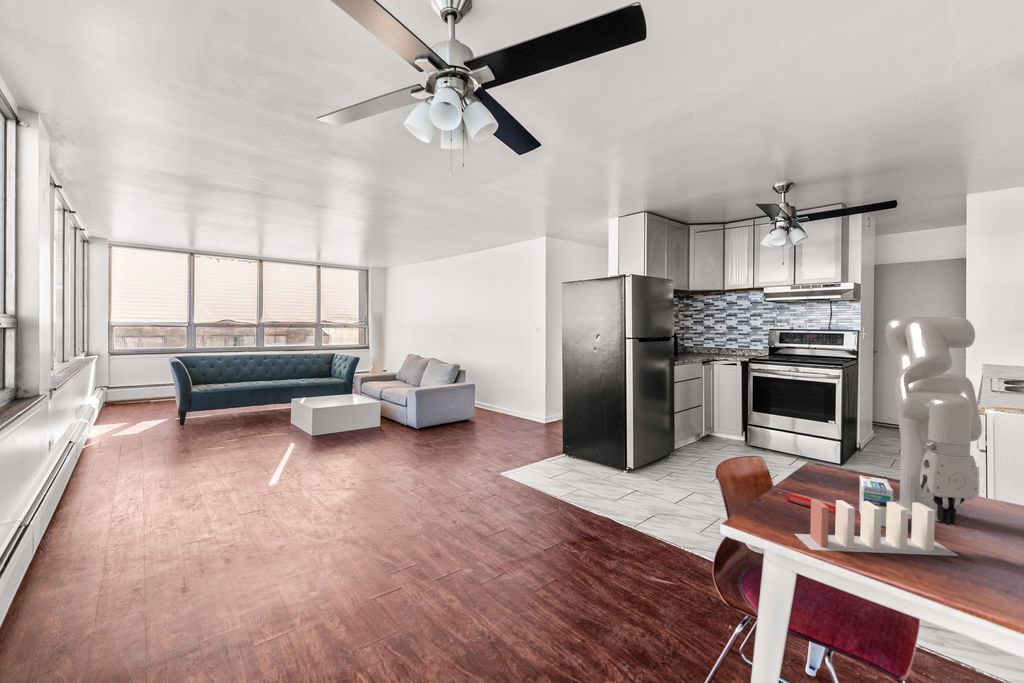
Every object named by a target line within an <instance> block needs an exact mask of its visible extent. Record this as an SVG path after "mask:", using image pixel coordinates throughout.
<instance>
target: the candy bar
mask: <svg viewBox="0 0 1024 683" xmlns="http://www.w3.org/2000/svg"><path fill="white" fill-rule="evenodd" d="M784 498H786V499H787V500H788V501H790V502H793V503H795V504H798V505H802V506H805V507H808V508H811V499H813V500H819V501H820V502H822V503H823V504H825V505H826V506H827V507H829V514H833V515H836V504H834V503H830V502H827V501H823V500H820V499H816V498H813V497H808V496H805V495H802V494H797V493H788V494H787V495H785V496H784Z"/></svg>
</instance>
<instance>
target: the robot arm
mask: <svg viewBox="0 0 1024 683" xmlns="http://www.w3.org/2000/svg"><path fill="white" fill-rule="evenodd" d="M885 339H886V344H887V347H888V349H889V351H890V353H891V355H892V356H893V358H894V360H895V362H896V365H897V372H898V373H897V374H898V376H897V377H896V380H895V382H894V396H895V402H896V408H897V411H898V412H897V422H898V427H899V435H900V469H899V471H900V474H899V476H900V478H899V500H895V501H894V502H895V503H897V504H898V505H900V506H902V507H904V508H906V509H907V510H908V517H909V516H910V517H912V502H918V503H921V504H923V505H925V506H927V507H929V508H931V509H933V510H935V522H940V523H943V524H945V525H947V526H948V525H949V526H950V525H951V526H955V525H956V517H957V514H956V513H957V510H962V509H963V505H962V503H963V502H967V501H971V500H973V499H974V498H976V497H977V496H978V493H979V477H978V475H979V474H978V469H977V463H976V461H975V458H974V456H973V455H971V442H976V441H978V439H980V438H981V437H982V432H983V431H982V430H983V429H982V428H983V425H982V419H981V416H980V415H981V414H980V410H979V405H978V400H977V396H976V391H975V388H974V385H973V382H972V381H971V380H970V379H969V378H968V377H967V376H966V375H964V374H963V375H962V374H958V373H946V372H948V371H949V370H950V369H951V368H952V366H953V359H952V355H951V350H950V349H967V348H968V349H969V348H970V347H971V346H973V344H974V343H975V339H976V331H975V327H974V326H973V324H972V322H971V321H969V319H967V318H964V317H959V316H952V315H951V316H947V315H946V316H943V315H942V316H903V317H897V318H894V319H891V320H889V321H888V323H887V324H886V327H885Z"/></svg>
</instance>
